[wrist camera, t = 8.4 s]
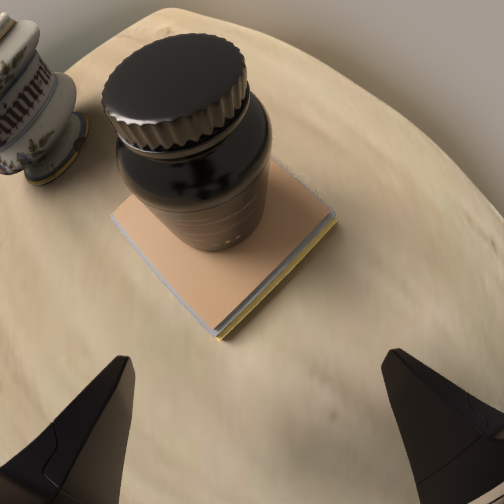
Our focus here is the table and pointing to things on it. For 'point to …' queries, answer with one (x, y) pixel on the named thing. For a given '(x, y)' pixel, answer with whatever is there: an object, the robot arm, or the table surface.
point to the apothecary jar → (35, 108)
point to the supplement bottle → (192, 138)
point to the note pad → (231, 252)
